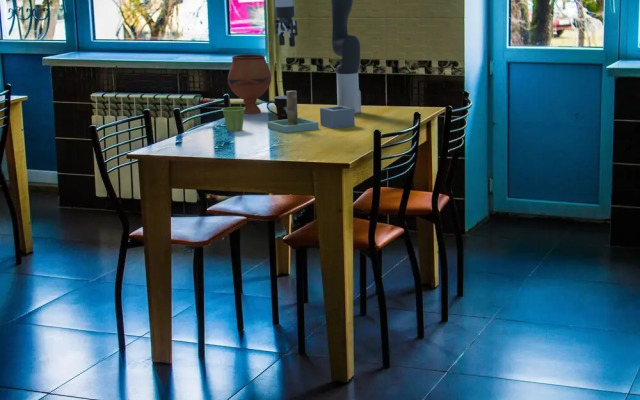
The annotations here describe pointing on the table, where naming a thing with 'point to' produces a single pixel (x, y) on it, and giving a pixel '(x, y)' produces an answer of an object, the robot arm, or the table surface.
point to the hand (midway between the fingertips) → (287, 45)
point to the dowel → (292, 107)
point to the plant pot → (234, 118)
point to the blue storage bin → (337, 117)
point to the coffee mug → (280, 107)
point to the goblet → (249, 79)
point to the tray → (301, 126)
